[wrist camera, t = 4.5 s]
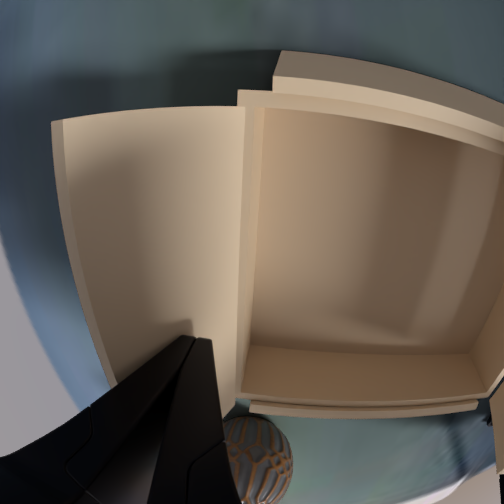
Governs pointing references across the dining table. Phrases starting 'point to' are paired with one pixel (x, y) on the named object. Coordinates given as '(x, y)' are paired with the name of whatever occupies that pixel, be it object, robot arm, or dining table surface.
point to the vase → (258, 459)
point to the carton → (369, 243)
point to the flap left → (154, 230)
